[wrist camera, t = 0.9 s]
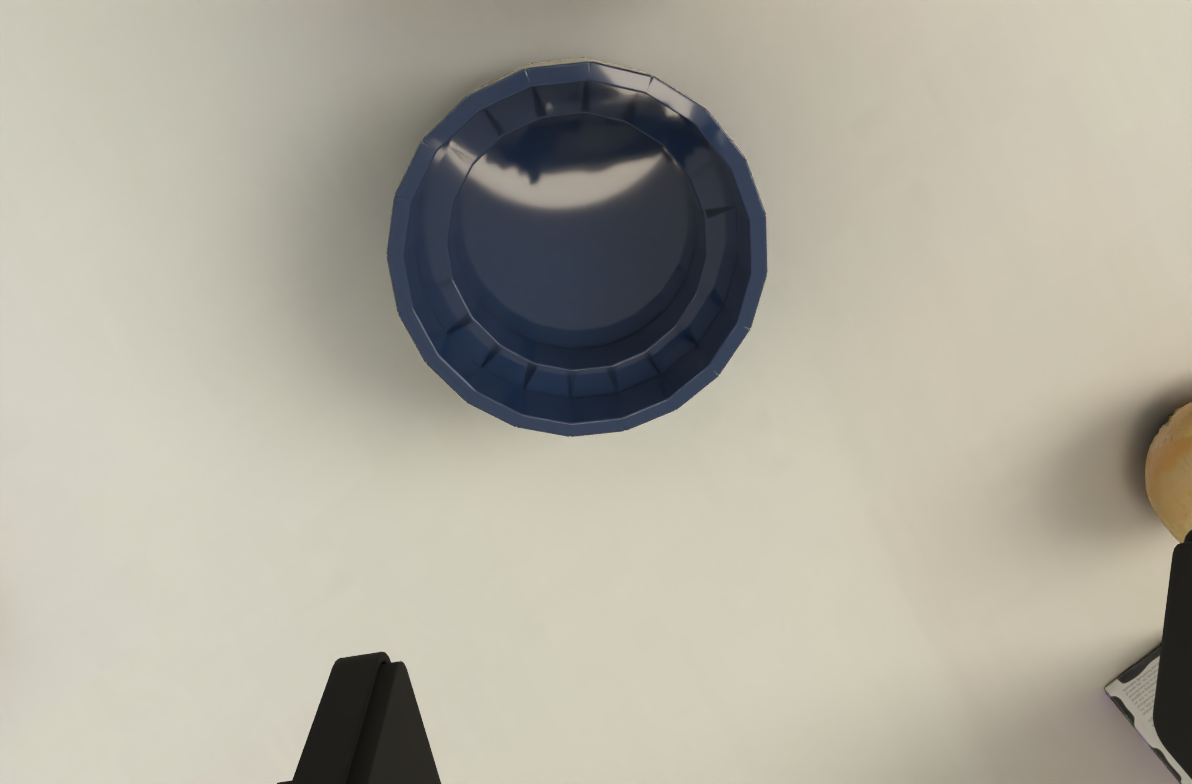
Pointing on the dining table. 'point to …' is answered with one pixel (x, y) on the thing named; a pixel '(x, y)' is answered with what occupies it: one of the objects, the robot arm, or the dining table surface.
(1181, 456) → the onion
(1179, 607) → the robot arm
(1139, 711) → the candy box
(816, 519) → the dining table surface
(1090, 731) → the dining table surface
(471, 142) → the bowl
